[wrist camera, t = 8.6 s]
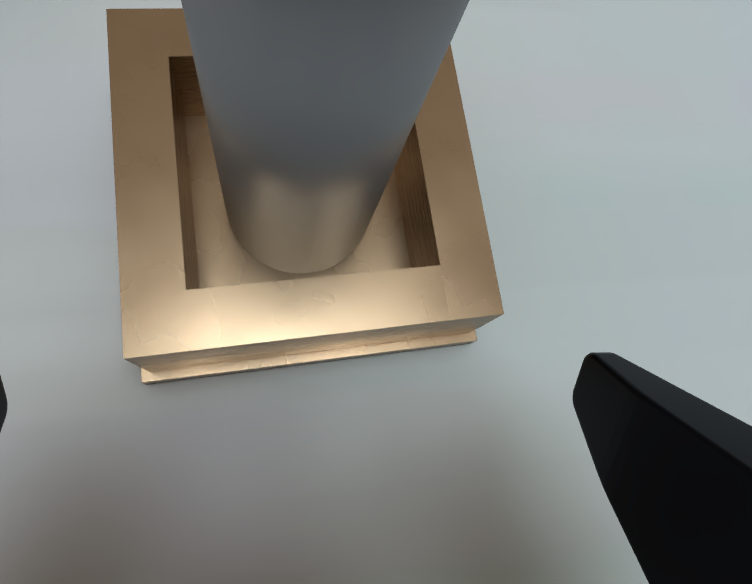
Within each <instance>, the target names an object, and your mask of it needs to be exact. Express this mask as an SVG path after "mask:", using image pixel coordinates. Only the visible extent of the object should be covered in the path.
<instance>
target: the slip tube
mask: <svg viewBox="0 0 752 584" xmlns="http://www.w3.org/2000/svg"><path fill="white" fill-rule="evenodd" d="M181 2H182V6H183V11H184V16H185V20H186V25H187V30H188V35H189V39H190V44H191V49H192V53H193V58H194V63H195V67H196V72H197V77H198V81H199V86H200V91H201V95H202V100H203V105H204V109H205V114H206V119H207V123H208V128H209V133H210V137H211V142H212V147H213V151H214V156H215V161H216V166H217V170H218V175H219V180H220V184H221V189H222V194H223V198H224V203H225V208H226V212H227V217H228V221H229V224H230V227H231V229H232V231H233V234H234V236H235V237H236V239H237V240H238V242H239V243H240V245H241V246H242V247H243V248H244V249H245V250H246V251H247V252H248V253H249V254H250V255H251V256H252V257H253V258H255V259H256V260H258V261H259V262H261V263H263V264H265V265H267V266H268V267H271V268H274V269H276V270H279V271H284V272H288V273H312V272H318V271H321V270H325V269H328V268H330V267H332V266H334V265H336V264H338V263H339V262H341V261H343V260H344V259H345V258H346V257H348V256H349V255H350V254H351V253H352V252H353V251H354V250H355V249H356V247H357V246H358V244H359V243H360V242H361V240H362V238H363V236H364V234H365V232H366V230H367V227H368V225H369V223H370V221H371V218H372V216H373V214H374V212H375V210H376V207H377V205H378V203H379V201H380V198H381V196H382V194H383V192H384V189H385V187H386V185H387V183H388V181H389V178H390V176H391V174H392V172H393V169H394V167H395V165H396V163H397V160H398V158H399V156H400V154H401V152H402V149H403V147H404V145H405V143H406V140H407V138H408V136H409V134H410V131H411V129H412V127H413V125H414V123H415V120H416V118H417V116H418V114H419V111H420V109H421V107H422V105H423V102H424V100H425V98H426V96H427V94H428V91H429V89H430V87H431V85H432V82H433V80H434V78H435V76H436V73H437V71H438V69H439V67H440V65H441V62H442V60H443V58H444V56H445V53H446V51H447V49H448V47H449V44H450V42H451V40H452V38H453V36H454V33H455V31H456V29H457V27H458V24H459V22H460V20H461V18H462V16H463V13H464V11H465V9H466V7H467V4H468V2H469V0H181Z"/></svg>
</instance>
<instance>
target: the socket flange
mask: <svg viewBox="0 0 752 584" xmlns="http://www.w3.org/2000/svg"><path fill="white" fill-rule="evenodd" d="M106 10H107V31H108V51H109V72H110V92H111V112H112V133H113V153H114V174H115V194H116V214H117V235H118V255H119V276H120V296H121V316H122V337H123V357H124V359H125V360H127V361H129V362H131V363H133V364H135V365H137V366H139V367H141V377H142V383H144V384H153V383H161V382H169V381H177V380H185V379H193V378H201V377H209V376H217V375H225V374H232V373H240V372H248V371H256V370H264V369H272V368H280V367H288V366H296V365H304V364H311V363H319V362H327V361H335V360H343V359H351V358H359V357H367V356H375V355H382V354H390V353H398V352H406V351H414V350H422V349H430V348H438V347H446V346H454V345H461V344H469V343H473V342H475V341H477V338H476V332H475V329H477V328H479V327H481V326H483V325H484V324H486V323H488V322H490V321H492V320H494V319H496V318H497V317H499V316H501V315H503V314H504V312H503V307H502V302H501V297H500V292H499V287H498V281H497V276H496V271H495V266H494V261H493V256H492V251H491V246H490V241H489V236H488V231H487V226H486V221H485V216H484V211H483V206H482V201H481V196H480V191H479V186H478V181H477V176H476V171H475V166H474V161H473V156H472V150H471V145H470V140H469V135H468V130H467V125H466V120H465V115H464V110H463V105H462V100H461V95H460V90H459V85H458V80H457V75H456V70H455V65H454V60H453V55H452V50H451V45H450V44H449V47H448V49H447V51H446V53H445V56H444V58H443V60H442V62H441V65H440V67H439V69H438V71H437V73H436V76H435V78H434V80H433V82H432V85H431V87H430V89H429V91H428V94H427V96H426V98H425V100H424V102H423V105H422V107H421V109H420V111H419V114H418V116H417V118H416V120H415V123H414V125H413V127H412V129H411V131H410V134H409V136H408V138H407V140H406V143H405V145H404V147H403V149H402V152H401V154H400V156H399V158H398V160H397V163H396V165H395V167H394V169H393V172H392V174H391V176H390V178H389V181H388V183H387V185H386V187H385V189H384V192H383V194H382V196H381V198H380V201H379V203H378V205H377V207H376V210H375V212H374V214H373V216H372V218H371V221H370V223H369V225H368V227H367V230H366V232H365V234H364V236H363V238H362V240H361V242H360V243H359V244H358V246H357V247H356V249H355V250H354V251H353V252H352V253H351V254H350V255H349V256H348V257H346V258H345V259H344V260H343V261H341V262H339V263H338V264H336V265H334V266H332V267H330V268H328V269H325V270H321V271H318V272H312V273H288V272H284V271H279V270H276V269H274V268H271V267H268V266H267V265H265V264H263V263H261V262H259V261H258V260H256V259H255V258H253V257H252V256H251V255H250V254H249V253H248V252H247V251H246V250H245V249H244V248H243V247H242V246H241V245H240V243H239V242H238V240H237V239H236V237H235V236H234V234H233V231H232V229H231V227H230V224H229V221H228V217H227V212H226V208H225V203H224V198H223V194H222V189H221V184H220V180H219V175H218V170H217V166H216V161H215V156H214V151H213V147H212V142H211V137H210V133H209V128H208V123H207V119H206V114H205V109H204V105H203V100H202V95H201V91H200V86H199V81H198V77H197V72H196V67H195V63H194V58H193V53H192V49H191V44H190V39H189V35H188V30H187V25H186V20H185V16H184V11H183V9H106Z"/></svg>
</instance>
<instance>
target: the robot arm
mask: <svg viewBox="0 0 752 584" xmlns="http://www.w3.org/2000/svg"><path fill="white" fill-rule="evenodd" d="M573 405H574V408H575V411H576V414H577V417H578V419H579V422H580V425H581V428H582V431H583V433H584V436H585V439H586V442H587V445H588V448H589V450H590V453H591V456H592V459H593V462H594V464H595V467H596V470H597V473H598V475H599V478H600V480H601V483H602V485H603V488H604V490H605V492H606V494H607V497H608V499H609V501H610V503H611V505H612V507H613V509H614V511H615V514H616V516H617V518H618V520H619V522H620V524H621V526H622V528H623V530H624V532H625V534H626V537H627V539H628V541H629V543H630V545H631V547H632V549H633V551H634V553H635V555H636V557H637V559H638V562H639V564H640V566H641V568H642V570H643V572H644V574H645V576H646V578H647V580H648V582H649V584H752V426H750V425H748V424H746V423H745V422H743V421H741V420H739V419H737V418H735V417H733V416H731V415H729V414H728V413H726V412H724V411H722V410H720V409H718V408H716V407H714V406H713V405H711V404H709V403H707V402H705V401H703V400H701V399H699V398H697V397H696V396H694V395H692V394H690V393H688V392H686V391H684V390H682V389H680V388H679V387H677V386H675V385H673V384H671V383H669V382H667V381H665V380H663V379H662V378H660V377H658V376H656V375H654V374H652V373H650V372H648V371H647V370H645V369H643V368H641V367H639V366H637V365H635V364H633V363H631V362H630V361H628V360H626V359H624V358H622V357H620V356H618V355H616V354H614V353H610V352H607V353H590V354H588V355H587V356H586V357H585V358H584V360H583V363H582V366H581V369H580V372H579V375H578V378H577V381H576V384H575V387H574V391H573ZM6 414H7V398H6V394H5V390H4V387H3V383H2V379H1V376H0V432H1V429H2V426H3V423H4V420H5V417H6Z"/></svg>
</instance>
